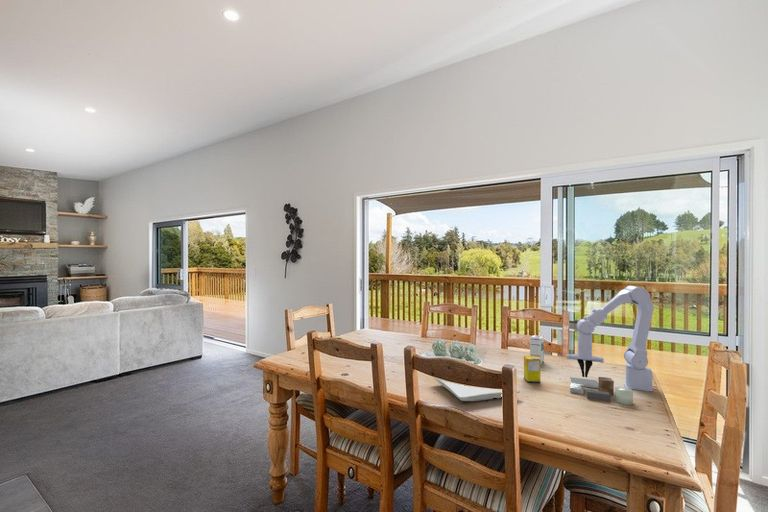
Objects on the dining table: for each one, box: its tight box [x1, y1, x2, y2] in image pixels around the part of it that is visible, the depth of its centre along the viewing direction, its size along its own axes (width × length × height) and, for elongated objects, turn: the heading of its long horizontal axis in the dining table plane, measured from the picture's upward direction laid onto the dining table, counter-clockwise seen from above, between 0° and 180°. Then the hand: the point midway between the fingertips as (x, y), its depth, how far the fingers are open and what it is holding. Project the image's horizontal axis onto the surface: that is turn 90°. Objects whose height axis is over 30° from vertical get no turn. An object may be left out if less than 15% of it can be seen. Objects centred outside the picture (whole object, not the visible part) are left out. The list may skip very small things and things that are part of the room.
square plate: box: [434, 378, 520, 402], centre depth 160 cm, size 27×27×4 cm
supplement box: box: [523, 355, 542, 384], centre depth 172 cm, size 6×6×11 cm
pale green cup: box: [614, 386, 634, 406], centre depth 148 cm, size 6×6×5 cm
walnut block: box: [597, 376, 615, 396], centre depth 157 cm, size 4×4×6 cm
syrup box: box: [529, 335, 545, 366], centre depth 199 cm, size 6×6×14 cm
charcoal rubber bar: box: [585, 388, 611, 402], centre depth 151 cm, size 8×3×3 cm, turn 67°
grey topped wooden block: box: [569, 382, 585, 395], centre depth 159 cm, size 7×5×2 cm
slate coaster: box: [569, 376, 598, 390], centre depth 168 cm, size 11×11×1 cm
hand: (584, 376), depth 168 cm, fingers closed
